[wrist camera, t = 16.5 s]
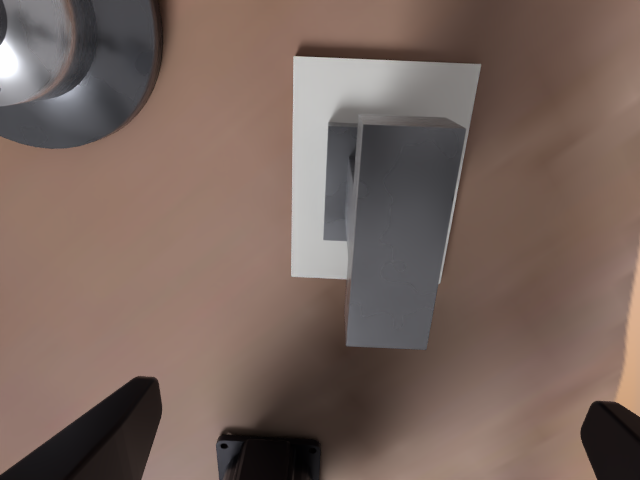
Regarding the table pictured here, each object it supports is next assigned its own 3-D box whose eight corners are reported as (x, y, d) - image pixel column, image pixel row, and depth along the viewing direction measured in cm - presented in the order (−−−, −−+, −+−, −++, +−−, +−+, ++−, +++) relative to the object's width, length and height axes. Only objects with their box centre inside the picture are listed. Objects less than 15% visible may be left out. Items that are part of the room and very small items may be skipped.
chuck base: (175, 148, 18) (167, 153, 17) (-46, 138, 18) (-66, 143, 17) (144, -141, 14) (131, -155, 13) (-142, -152, 14) (-174, -166, 13)
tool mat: (437, 278, 21) (440, 283, 20) (292, 271, 21) (291, 276, 20) (477, 64, 16) (481, 64, 16) (294, 56, 16) (293, 56, 16)
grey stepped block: (414, 254, 20) (454, 350, 13) (322, 250, 20) (318, 345, 13) (437, 101, 17) (502, 130, 10) (329, 97, 17) (327, 123, 10)
